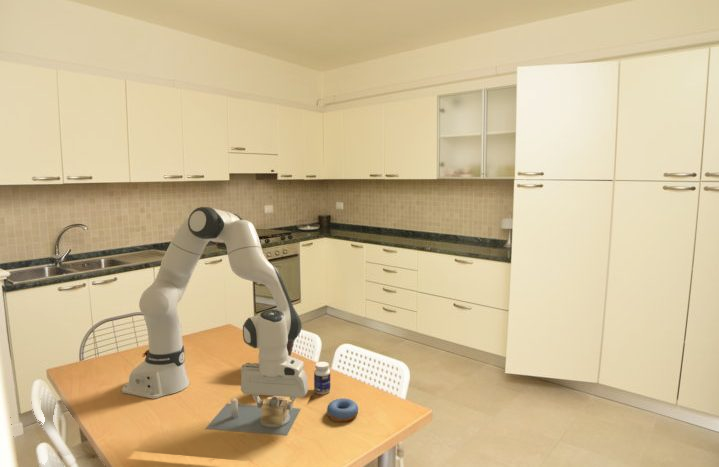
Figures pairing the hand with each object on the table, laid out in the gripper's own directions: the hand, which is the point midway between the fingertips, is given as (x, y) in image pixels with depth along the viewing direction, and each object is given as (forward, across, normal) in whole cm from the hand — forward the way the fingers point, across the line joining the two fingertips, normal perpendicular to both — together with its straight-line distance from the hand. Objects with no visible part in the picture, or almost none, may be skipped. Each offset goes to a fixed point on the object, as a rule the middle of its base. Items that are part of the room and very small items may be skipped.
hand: (274, 407), depth 137 cm
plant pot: (+6, -12, +40) cm, 42 cm away
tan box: (+3, 0, 0) cm, 3 cm away
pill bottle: (+6, +10, +23) cm, 26 cm away
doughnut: (+6, +19, +8) cm, 22 cm away
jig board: (+5, -6, 0) cm, 8 cm away
